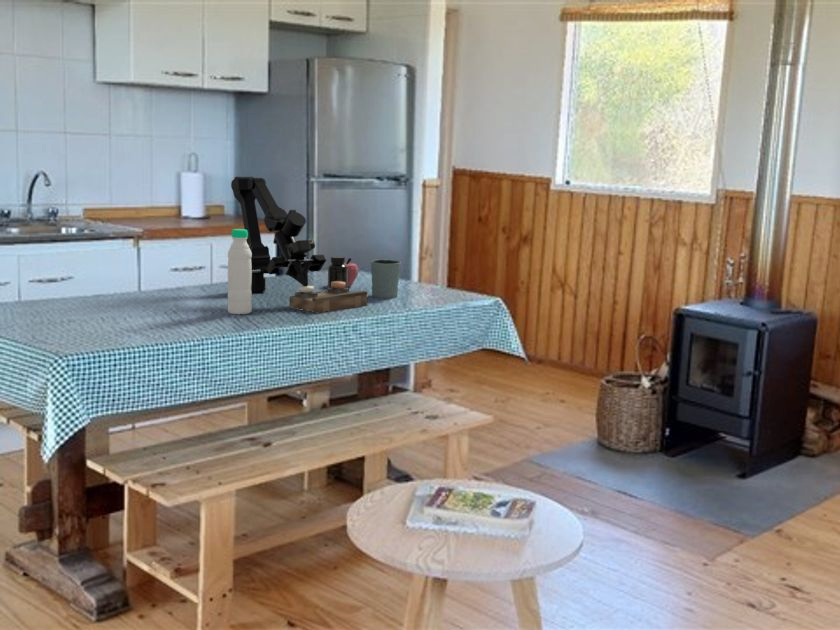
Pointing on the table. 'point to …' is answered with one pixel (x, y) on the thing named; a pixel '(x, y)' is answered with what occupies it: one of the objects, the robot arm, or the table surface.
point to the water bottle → (239, 274)
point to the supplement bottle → (337, 271)
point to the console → (328, 300)
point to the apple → (351, 272)
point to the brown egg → (338, 284)
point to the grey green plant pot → (385, 278)
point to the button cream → (306, 289)
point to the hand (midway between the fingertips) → (306, 285)
